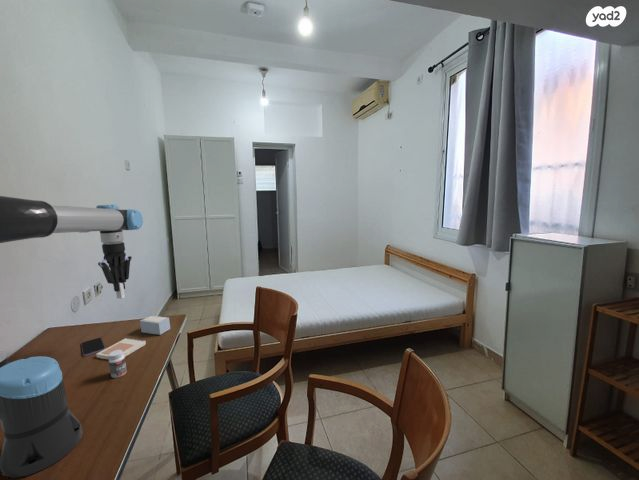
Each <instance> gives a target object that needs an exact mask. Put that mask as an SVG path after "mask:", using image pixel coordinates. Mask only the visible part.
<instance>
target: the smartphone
mask: <svg viewBox="0 0 639 480" xmlns="http://www.w3.org/2000/svg"><path fill="white" fill-rule="evenodd" d="M80 345H81V351H82V355H83V357H88V356H90V355H94V354H97V353H99V352H101V351H103V350H105V349H106V346H105V344H104V341H103V339H102V337H97V338H93V339H90V340H86V341H83V342H81V343H80Z"/></svg>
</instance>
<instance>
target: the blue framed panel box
mask: <svg viewBox="0 0 639 480" xmlns="http://www.w3.org/2000/svg"><path fill="white" fill-rule="evenodd" d="M139 324H140V325H139V326H140V330H141V333H144V334H149V335H150V334H151V335H158V336H161V335H163V334H164V333H166V332H167V331H169V330H171V323H170V317H169V316H168V317H167V316H158V315H149V316H147V317H145V318H143V319H141V320H139Z"/></svg>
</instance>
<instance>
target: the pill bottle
mask: <svg viewBox="0 0 639 480" xmlns="http://www.w3.org/2000/svg"><path fill="white" fill-rule="evenodd" d="M109 358H110V359H109V360H108V366H109V373H110V377H111V378H113V379H116V378H120V377H122V376H125V375H126V373H127V370H128V369H127V364H126V356H125V357H124V355H123V352H122V350H115V351H113V352H111V353H110V354H109Z"/></svg>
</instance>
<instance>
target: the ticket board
mask: <svg viewBox="0 0 639 480" xmlns="http://www.w3.org/2000/svg"><path fill="white" fill-rule="evenodd" d="M145 345H147V342H146V340H144V339H143V340H142V339H141V340H140V339H136V338H129V337H126V338H123V339H121V340H119V341H118V342H116V343H114V344H112V345H110V346H109V347H105V350H103V351H101V352H98V353H95V356H96V358H97V359H98V358H99V359H102V360H104V359H105V360H108V361H109V359H110V358H109V354H110V353H111V352H113V351H115V350H122V352H123V355H124V357H125V358H126V357H127V356H129V355H131V354H132V353H133V352H136V351H137V350H138V349H140V348H142V347H144V346H145Z"/></svg>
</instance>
